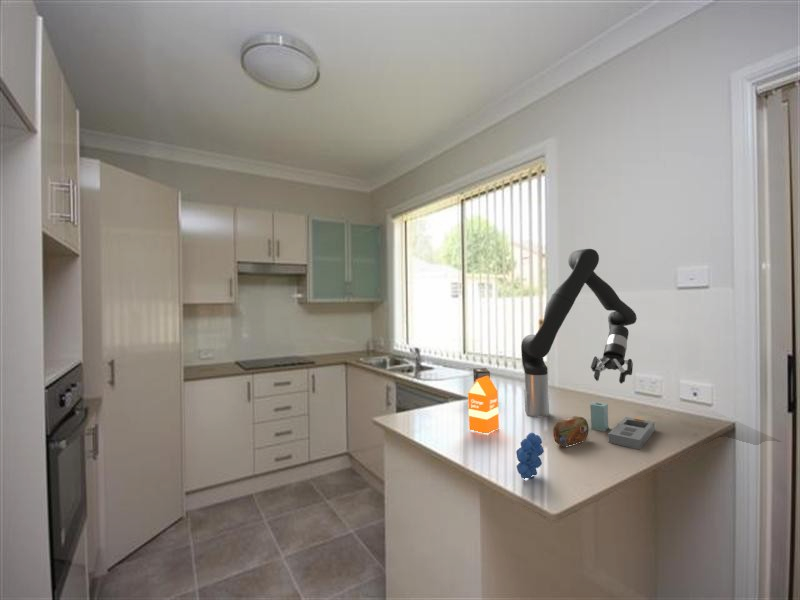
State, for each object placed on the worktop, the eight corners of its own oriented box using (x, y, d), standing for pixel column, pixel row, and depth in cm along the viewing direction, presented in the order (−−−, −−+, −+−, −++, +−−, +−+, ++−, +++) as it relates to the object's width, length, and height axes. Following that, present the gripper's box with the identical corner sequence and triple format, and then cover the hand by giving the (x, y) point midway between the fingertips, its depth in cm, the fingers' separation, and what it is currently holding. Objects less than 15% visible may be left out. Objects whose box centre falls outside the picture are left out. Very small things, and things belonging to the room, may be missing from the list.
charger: (591, 428, 135) (590, 403, 135) (595, 425, 138) (594, 401, 138) (604, 431, 132) (603, 406, 132) (608, 428, 135) (607, 403, 135)
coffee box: (474, 401, 176) (472, 368, 176) (487, 400, 176) (486, 367, 176) (477, 406, 167) (476, 371, 167) (491, 406, 167) (490, 371, 167)
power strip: (640, 449, 116) (639, 438, 116) (608, 442, 122) (608, 431, 122) (654, 430, 131) (654, 420, 131) (626, 424, 137) (625, 415, 137)
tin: (559, 449, 118) (558, 423, 118) (551, 446, 121) (550, 421, 121) (590, 440, 125) (589, 415, 125) (581, 437, 127) (580, 413, 128)
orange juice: (469, 431, 137) (467, 378, 137) (481, 425, 143) (479, 374, 143) (487, 436, 131) (485, 380, 131) (499, 429, 138) (497, 376, 138)
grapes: (527, 465, 108) (526, 425, 108) (549, 473, 102) (548, 430, 102) (505, 479, 100) (503, 435, 100) (528, 488, 95) (526, 442, 95)
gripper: (594, 341, 154) (586, 373, 146) (633, 343, 144) (627, 377, 136) (599, 352, 158) (591, 384, 150) (637, 354, 148) (631, 388, 140)
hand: (608, 380), depth 143 cm, fingers open, 8 cm apart
